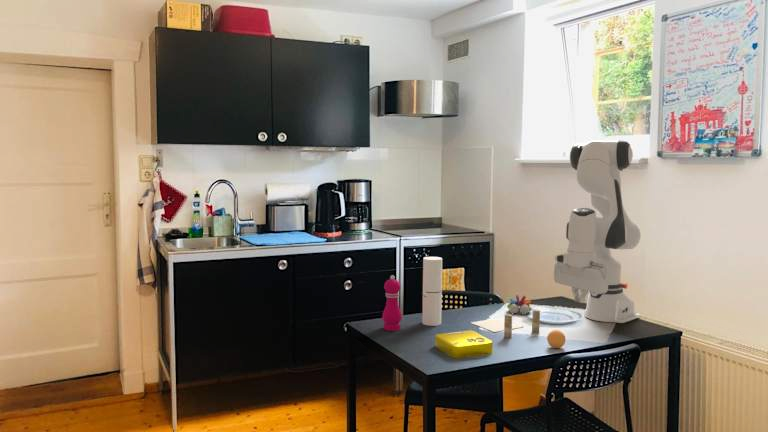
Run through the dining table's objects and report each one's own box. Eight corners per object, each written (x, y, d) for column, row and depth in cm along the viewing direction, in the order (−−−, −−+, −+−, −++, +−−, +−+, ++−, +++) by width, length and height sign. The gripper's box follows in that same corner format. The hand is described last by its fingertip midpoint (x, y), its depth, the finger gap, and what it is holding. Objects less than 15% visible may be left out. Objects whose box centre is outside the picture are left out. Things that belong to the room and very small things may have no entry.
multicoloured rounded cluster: (531, 315, 266) (532, 298, 265) (506, 314, 268) (507, 296, 267) (531, 310, 274) (531, 293, 273) (507, 309, 276) (507, 291, 275)
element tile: (471, 341, 233) (472, 328, 232) (494, 354, 219) (494, 340, 218) (433, 346, 227) (433, 332, 226) (453, 360, 213) (454, 345, 213)
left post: (508, 335, 238) (508, 313, 237) (513, 337, 236) (513, 315, 235) (502, 336, 237) (503, 314, 236) (507, 338, 235) (507, 316, 234)
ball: (556, 344, 229) (556, 327, 228) (569, 348, 224) (569, 331, 223) (543, 346, 226) (543, 329, 225) (555, 351, 221) (556, 334, 220)
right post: (535, 330, 245) (536, 309, 244) (540, 332, 242) (541, 311, 241) (530, 331, 243) (531, 310, 242) (535, 333, 241) (536, 311, 240)
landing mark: (499, 318, 261) (499, 317, 261) (523, 327, 249) (523, 326, 249) (470, 323, 254) (470, 322, 254) (494, 332, 242) (494, 331, 242)
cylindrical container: (435, 326, 249) (436, 260, 246) (418, 323, 253) (419, 258, 250) (444, 322, 255) (445, 257, 252) (427, 319, 259) (428, 255, 256)
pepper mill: (389, 332, 241) (390, 278, 239) (378, 327, 247) (378, 274, 245) (405, 329, 245) (406, 275, 243) (393, 324, 251) (394, 272, 249)
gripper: (614, 264, 206) (611, 308, 207) (565, 253, 223) (563, 294, 225) (599, 265, 203) (597, 310, 204) (551, 255, 220) (549, 296, 222)
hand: (579, 301), depth 215 cm, fingers closed
